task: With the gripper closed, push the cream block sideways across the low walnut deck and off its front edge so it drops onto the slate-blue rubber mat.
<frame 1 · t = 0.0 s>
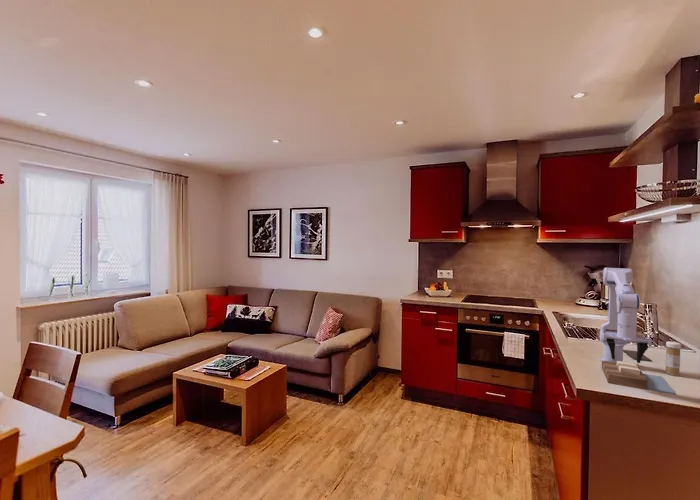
hand: (625, 360, 134), 10 cm above the counter, tool pointing down, fingers open, 7 cm apart
mat: (655, 383, 138), on the counter
smartphone: (636, 356, 170), on the counter
cream block: (627, 370, 142), point 3 cm above the counter, touching deck
deck: (622, 378, 143), on the counter
sprinkles bottle: (672, 374, 147), on the counter
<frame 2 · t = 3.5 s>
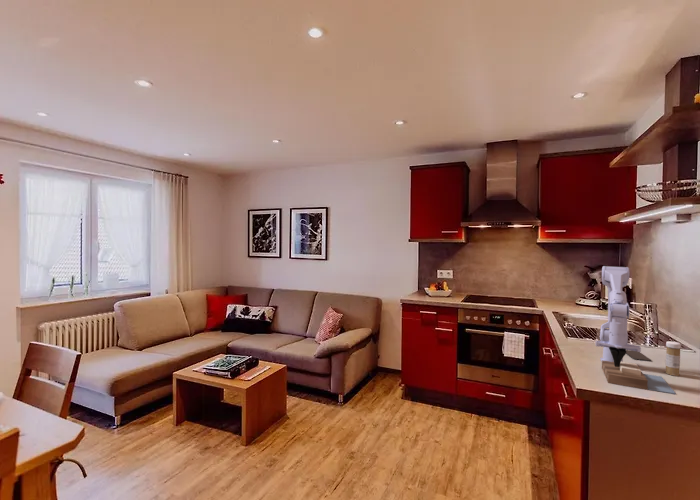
hand: (616, 366, 144), 4 cm above the counter, tool pointing down, fingers closed
cream block: (628, 370, 142), point 3 cm above the counter, touching deck, gripper
everything else where it was.
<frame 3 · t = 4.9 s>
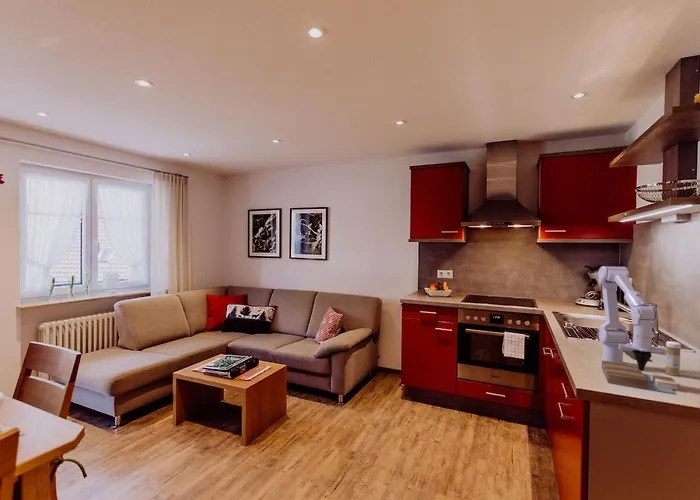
hand: (641, 369, 140), 5 cm above the counter, tool pointing down, fingers closed
cream block: (663, 378, 136), point 2 cm above the counter, tilted 180°, touching mat
everything else where it was.
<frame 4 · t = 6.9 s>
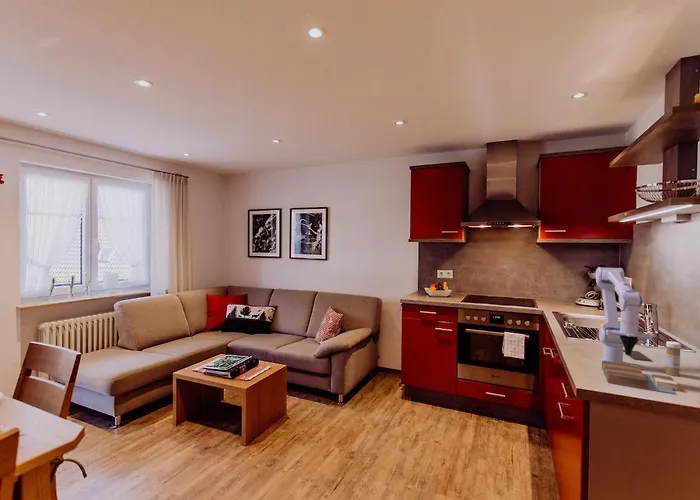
hand: (627, 354, 143), 9 cm above the counter, tool pointing down, fingers closed
nothing on the counter moved.
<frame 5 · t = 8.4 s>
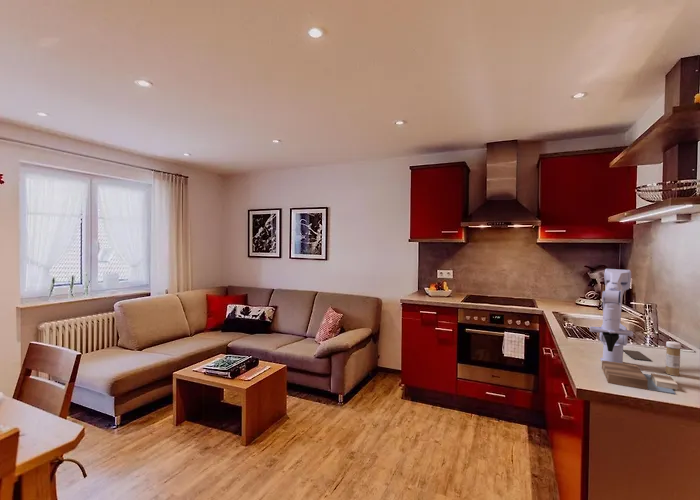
hand: (610, 350, 148), 9 cm above the counter, tool pointing down, fingers closed
nothing on the counter moved.
at the end: cream block point 2.4 cm above the counter; cream block inside the target area (2.1 cm from its centre), point 2.4 cm above the counter; cream block touching mat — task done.
